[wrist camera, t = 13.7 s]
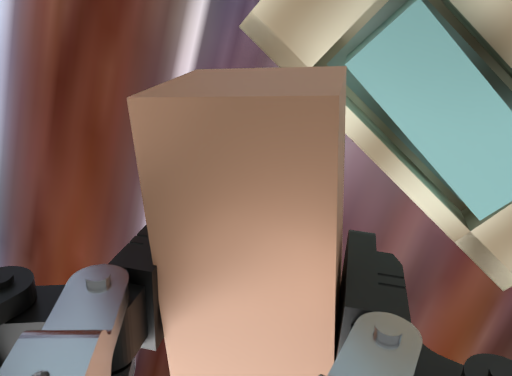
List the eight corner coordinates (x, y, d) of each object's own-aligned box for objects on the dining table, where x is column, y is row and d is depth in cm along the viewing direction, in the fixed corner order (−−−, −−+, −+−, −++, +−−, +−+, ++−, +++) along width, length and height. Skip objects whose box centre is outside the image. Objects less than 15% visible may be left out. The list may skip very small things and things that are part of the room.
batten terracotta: (196, 69, 12) (126, 97, 9) (346, 65, 11) (339, 95, 8) (224, 357, 16) (183, 462, 12) (338, 371, 15) (331, 488, 11)
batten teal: (347, 55, 24) (344, 64, 20) (410, -2, 22) (419, -3, 19) (462, 189, 25) (479, 220, 22) (530, 145, 24) (560, 171, 20)
